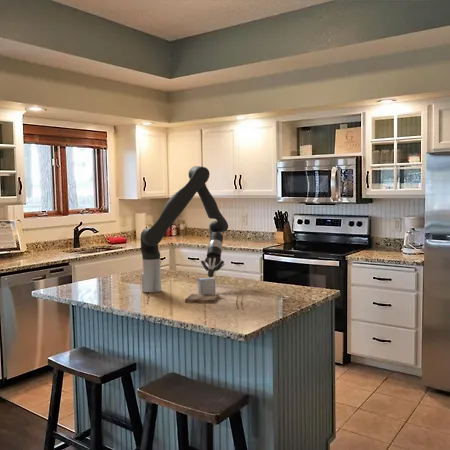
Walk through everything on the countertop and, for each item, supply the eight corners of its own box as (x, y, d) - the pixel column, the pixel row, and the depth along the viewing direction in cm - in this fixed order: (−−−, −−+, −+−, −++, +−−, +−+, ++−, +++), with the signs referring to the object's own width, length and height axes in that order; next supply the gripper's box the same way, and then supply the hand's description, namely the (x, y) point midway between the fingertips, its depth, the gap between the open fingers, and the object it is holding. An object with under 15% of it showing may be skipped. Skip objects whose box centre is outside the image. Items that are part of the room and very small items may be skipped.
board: (185, 302, 233) (185, 299, 233) (191, 297, 244) (191, 294, 244) (214, 303, 231) (214, 299, 231) (219, 297, 241) (218, 294, 241)
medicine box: (213, 293, 250) (212, 277, 249) (215, 295, 246) (215, 278, 245) (198, 295, 248) (197, 278, 247) (200, 297, 243) (200, 279, 243)
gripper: (201, 245, 264) (196, 272, 253) (225, 245, 261) (221, 272, 251) (204, 254, 270) (199, 280, 259) (227, 254, 267) (224, 281, 256)
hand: (210, 276), depth 255 cm, fingers closed
